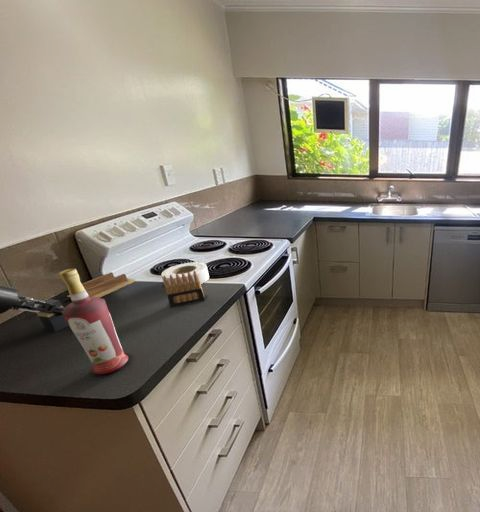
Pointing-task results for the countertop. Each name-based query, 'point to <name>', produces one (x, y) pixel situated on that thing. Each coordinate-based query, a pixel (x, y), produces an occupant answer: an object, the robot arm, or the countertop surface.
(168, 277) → the tape roll
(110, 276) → the rack
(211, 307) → the countertop surface
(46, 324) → the dark box with band
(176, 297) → the ammunition clip
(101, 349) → the liquor
